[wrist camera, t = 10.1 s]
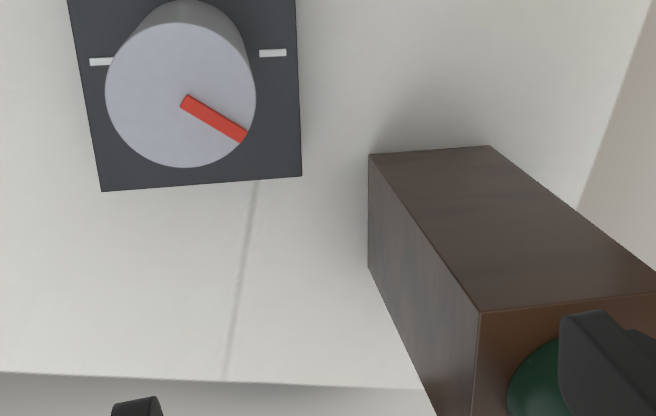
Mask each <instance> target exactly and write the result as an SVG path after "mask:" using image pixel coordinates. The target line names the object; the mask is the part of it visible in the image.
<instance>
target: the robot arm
mask: <svg viewBox="0 0 656 416" xmlns="http://www.w3.org/2000/svg"><path fill="white" fill-rule="evenodd" d="M558 384H559V389H560V392H561V396H562V398H563V401H564V403H565V405H566V406H567V408H568V410H569V411H570V412H571V414H572V415H573V416H656V339H654V338H652V337H650V336H648V335H646V334H644V333H642V332H640V331H638V330H636V329H629V330H624V329H623V328H622V327H621V326H620V325H619V324H618V323H617V322H616V321H615V320H614V319H613V318H612V317H611V316H610V315H609V314H608V313H607V312H606V311H604V310H602V309H595V310H590V311H585V312H580V313H575V314H570V315H565V316H563V317H562V318H561V320H560V325H559V352H558ZM111 416H163V413H162V410H161V406H160V403H159V401H158V399H157V397H156V396H151V397H147V398H142V399H137V400H131V401H126V402H122V403H117V404H115V405H114V406H113V409H112V412H111Z"/></svg>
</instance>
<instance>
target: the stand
mask: <svg viewBox="0 0 656 416" xmlns="http://www.w3.org/2000/svg"><path fill="white" fill-rule="evenodd" d="M368 268H369V270H370V272H371V275H372V277H373V279H374V281H375V283H376V285H377V287H378V290H379V292H380V294H381V296H382V298H383V300H384V303H385V305H386V307H387V309H388V311H389V313H390V315H391V318H392V320H393V322H394V324H395V326H396V328H397V330H398V333H399V335H400V337H401V339H402V341H403V343H404V346H405V348H406V350H407V352H408V354H409V356H410V358H411V361H412V363H413V365H414V367H415V369H416V371H417V373H418V376H419V378H420V380H421V382H422V384H423V386H424V389H425V391H426V393H427V395H428V397H429V399H430V401H431V404H432V406H433V408H434V410H435V412H436V414H437V416H509V415H508V411H507V405H506V395H507V390H508V387H509V384H510V381H511V379H512V377H513V375H514V373H515V372H516V370H517V369H518V367H519V366H520V365H521V364H522V362H523V361H524V360H525V359H526V358H527V357H528V356H529V355H530V354H532V353H533V352H534V351H535V350H536V349H538V348H539V347H541V346H542V345H544V344H546V343H548V342H550V341H552V340H554V339H556V338H559V325H560V320H561V318H562V317H563V316H565V315H570V314H575V313H580V312H585V311H590V310H595V309H602V310H604V311H606V312H607V313H608V314H609V315H610V316H611V317H612V318H613V319H614V320H615V321H616V322H617V323H618V324H619V325H620V326H621V327H622V328H623V329H624V330H629V329H636V330H638V331H640V332H642V333H644V334H646V335H648V336H650V337H652V338H654V339H656V271H654V270H653V269H651V268H650V267H649V266H648V265H646V264H645V263H644V262H642V261H641V260H640V259H638V258H637V257H636V256H634V255H633V254H632V253H631V252H629V251H628V250H627V249H625V248H624V247H623V246H621V245H620V244H619V243H617V242H616V241H615V240H613V239H612V238H611V237H610V236H608V235H607V234H606V233H604V232H603V231H602V230H600V229H599V228H598V227H596V226H595V225H594V224H592V223H591V222H590V221H588V220H587V219H586V218H585V217H583V216H582V215H581V214H579V213H578V212H577V211H575V210H574V209H573V208H571V207H570V206H569V205H567V204H566V203H565V202H564V201H562V200H561V199H560V198H558V197H557V196H556V195H554V194H553V193H552V192H550V191H549V190H548V189H546V188H545V187H544V186H542V185H541V184H540V183H539V182H537V181H536V180H535V179H533V178H532V177H531V176H529V175H528V174H527V173H525V172H524V171H523V170H521V169H520V168H519V167H517V166H516V165H515V164H514V163H512V162H511V161H510V160H508V159H507V158H506V157H504V156H503V155H502V154H500V153H499V152H498V151H496V150H495V149H494V148H493V147H491V146H477V147H464V148H450V149H437V150H424V151H410V152H397V153H383V154H370V155H369V156H368Z"/></svg>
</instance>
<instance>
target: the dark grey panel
mask: <svg viewBox="0 0 656 416" xmlns="http://www.w3.org/2000/svg"><path fill="white" fill-rule="evenodd" d="M171 1H174V0H67V4H68V10H69V15H70V21H71V26H72V32H73V37H74V43H75V49H76V54H77V60H78V65H79V71H80V76H81V82H82V87H83V93H84V98H85V104H86V109H87V115H88V120H89V126H90V132H91V137H92V143H93V148H94V154H95V159H96V165H97V170H98V176H99V181H100V187H101V191H102V192H109V191H122V190H135V189H147V188H160V187H173V186H186V185H198V184H211V183H224V182H236V181H249V180H262V179H274V178H287V177H300V176H302V156H301V131H300V106H299V81H298V56H297V31H296V6H295V0H198V1H202V2H205V3H208V4H210V5H212V6H214V7H216V8H218V9H219V10H221V11H222V12H223V13H224V14H226V15H227V16H228V17H229V18H230V19H231V21H232V22H233V23H234V24H235V26H236V27H237V29H238V31H239V33H240V35H241V37H242V40H243V43H244V46H245V50H246V54H247V57H248V61H249V65H250V68H251V72H252V75H253V79H254V83H255V89H256V109H255V114H254V118H253V121H252V124H251V126H250V129H249V130H248V133H247V135H246V136H245V138H244V139H243V141H242V142H241V143H240V144H239V145H238V146H237V147H236V148H235V149H234V150H233V151H231V152H230V153H229V154H227V155H226V156H224V157H223V158H221V159H219V160H217V161H215V162H212V163H210V164H207V165H203V166H199V167H192V168H178V167H170V166H166V165H162V164H159V163H156V162H153V161H151V160H149V159H147V158H145V157H143V156H142V155H140V154H139V153H137V152H136V151H135V150H133V149H132V148H131V147H130V146H129V145H128V144H127V143H126V142H125V141H124V140H123V139H122V138H121V136H120V135H119V133H118V132H117V131H116V129H115V127H114V125H113V124H112V121H111V119H110V116H109V114H108V110H107V106H106V101H105V82H106V75H107V72H108V69H109V66H110V64H111V62H112V60H113V57H114V56H115V54H116V53H117V51H118V50H119V48H120V47H121V46H122V45H123V44H124V43H125V41H126V40H127V39H128V38H129V37H130V35H131V34H132V33H133V32H134V31H135V29H136V28H137V27H138V26H139V25H140V23H141V22H142V21H143V20H144V19H145V18H146V16H147V15H148V14H149V13H150V12H152V11H153V10H154V9H156V8H157V7H159V6H161V5H163V4H165V3H167V2H171Z"/></svg>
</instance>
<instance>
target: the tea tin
mask: <svg viewBox="0 0 656 416" xmlns="http://www.w3.org/2000/svg"><path fill="white" fill-rule="evenodd" d="M558 352H559V338H556V339H554V340H552V341H550V342H548V343H546V344H544V345H542V346H541V347H539V348H538V349H536V350H535V351H534V352H533V353H532V354H530V355H529V356H528V357H527V358H526V359H525V360H524V361H523V362H522V364H521V365H520V366H519V367H518V369H517V370H516V372H515V373H514V375H513V377H512V379H511V381H510V384H509V387H508V390H507V395H506V405H507V411H508V415H509V416H573V415H572V414H571V412H570V411H569V410H568V408H567V406H566V405H565V403H564V401H563V398H562V396H561V392H560V389H559V384H558Z"/></svg>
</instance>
